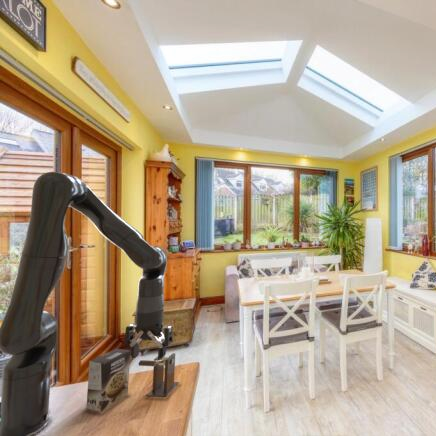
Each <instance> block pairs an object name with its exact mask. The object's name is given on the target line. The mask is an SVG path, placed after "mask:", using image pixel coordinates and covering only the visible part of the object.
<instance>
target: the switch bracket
mask: <svg viewBox="0 0 436 436" xmlns="http://www.w3.org/2000/svg"><path fill="white" fill-rule="evenodd" d="M167 357H168V358H167V359H166V360H165V365H159V364H156V366H153V371H152V373H153V374H152V389H150V391H149V392H148V393H147V394H146V395H145V396H146V397H157V398H167V397H168V396H169V394H171V392H172V391H173V390H174V389H175V388H176V387H177V386H178V385H179V384H180V381H175V371H176V370H175V369H176V353H171V354H170V355H169V356H167ZM156 360H160V359H158V355H157V356H156V357H155V358H154V359H153V361H156Z"/></svg>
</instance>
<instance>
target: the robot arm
mask: <svg viewBox="0 0 436 436" xmlns="http://www.w3.org/2000/svg"><path fill="white" fill-rule="evenodd" d="M31 195H32V196H31V207H30V216H29V217H30V218H29V222H28V225H27V230H26V235H25V240H24V242H23V243H24V244H23V247H22V250H21V253H20V257H19V261H18V266H17V273H16V277H15V281H14V284H13V288H12V292H11V297H10V300H9V304H8V306H7V309H6V312H5V314H4V316H3V319H2V321H1V323H0V351H1V352H2V353H4V354H6V355H9V356H11V357H10V358H9V360H8V361H7V362H6V364H5V365H4V366H3V369H2V377H1V378H2V379H1V395H0V436H34V435H36V434H37V433H39V432H41V431H42V430H43V429H45V428H46V427H47V426H48V424H49V420H50V419H49V415H50V414H51V409H50V392H51V375H52V374H51V371H52V360H53V358H54V355H55V354H56V349H57V341H58V340H57V339H58V331H59V330H58V328H59V327H58V320H57V318H56V316H55V315H54V314H52V313H50V312H48V311H45V307H46V304H47V301H48V300H49V297H50V295H51V294H52V293H53V291H54V289H55V288H56V286H57V284H58V283H59V281H60V280H61V278H62V276H63V274H64V271H65V268H66V265H67V260H68V256H69V249H70V248H69V247H70V246H69V241H68V236H67V233H66V228H65V220H66V216H67V212H68V208H69V207H70V208H72V209H74V210H75V211H78V212H79V213H81V214H82V215H84V217H86V218H87V219H88V220H89V221H90V222H91V223H92V224H93V226H94V227H95V228H96V229H97V231H99V233H100V234H101V235H102V236H103V237H104V238H105V239H106V240H108V241H109V242H110V243H112V244H113V245H114V246H115V247H117V248H118V249H120V250H122V252H123V253H124V254H125V255H126V256H127V258H128V259H129V260H130V261H131V262H132V263H133V264H134V265H136V266H137V267H138V268H139V269H142V273H141V274H142V275H141V277H140V278H139V280H138V284H137V298H136V305H135V323H131V324H128V325H127V326H126V327H125V334H124V342H123V343H124V345H125V346H127V345H128V346H129V347H130V357H131V359H136V358H137V357H139V354H140V342H141V340H142V341H153V343H154V344H156V345H157V346H158V348H157V350H158V351H157V356H158V359H162V358H163V357H166V355H167V347H169V346H170V345H171V344H172V343H173V341H174V339H173V337H174V332H173V327H174V326H173V325H172V324H170V325H167V326H164V324H163V321H164V314H165V313H164V312H165V296H164V295H165V294H164V292H165V275H166V270H167V264H168V253H167V251H166V250H165V248H163V247H162V246H157V245H156V246H152V245H150V244H149V243H148V242H147V241H146V240H145V239H144V235H143V234H141V232H140V231H139V230H137V229H136V228H135V227H133V226H132V225H131V224H130V223H128V222H127V221H125V219H123V218H122V217H121V216H119V215H118V214H117V213H115V212H114V211H113V210H112V209H111V208H109V206H108V205H106V204H105V203H104V202H103V201H102V200H101V199H100V198H99V196H98V195H96V194H95V192H94V191H93V190H92V189H91V188H90V187H89V186H88V184H87V183H85V182H84V181H83V180H82V179H81V178H79V177H77V176H75V175H71V174H67V173H64V172H59V171H47V172H44V173H43V174H41V175H39V176H38V177H37V178H36V179H35V182H34V184H33V187H32V193H31ZM135 333H136V336H135Z"/></svg>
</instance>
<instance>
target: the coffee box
mask: <svg viewBox="0 0 436 436" xmlns="http://www.w3.org/2000/svg"><path fill="white" fill-rule="evenodd" d="M88 365H89V366H88V378H87V379H88V380H87V392H86V409H87V410H91V411H95V412H100V413H102V412H103V411H105V410H107V409H108V408H109V407H111V406H112V405H114V404H116V403H117V402H118V401H120V400H121V399H123V398H125V397H126V396H127V395H128V394H129V385H130V382H129V381H130V366H131V349H123V348H114V349H112V350H109V351H108V352H106V353H104V354H102V355H99V356H97V357H95V358H93V359H90V360H89V363H88Z"/></svg>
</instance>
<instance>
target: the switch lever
mask: <svg viewBox="0 0 436 436" xmlns="http://www.w3.org/2000/svg"><path fill="white" fill-rule="evenodd" d="M168 357H169V356H164V357H163V358H162V359H160V360H156V361H154V360H147V359H145V360H144V359H141V360H139V362H138V366H139V367H154V366H156V364H159V365H164V366H165V360H166V359H167V358H168Z"/></svg>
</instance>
